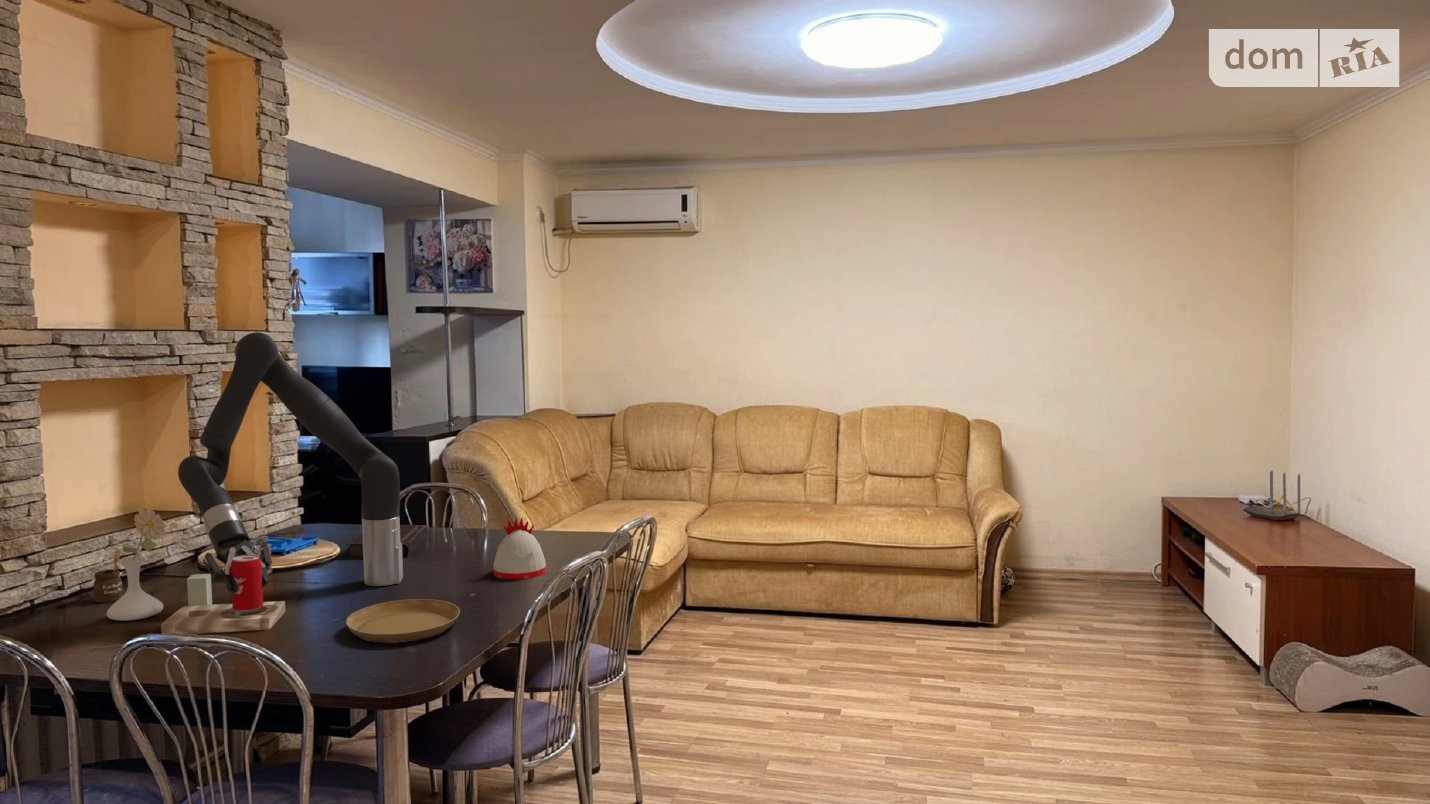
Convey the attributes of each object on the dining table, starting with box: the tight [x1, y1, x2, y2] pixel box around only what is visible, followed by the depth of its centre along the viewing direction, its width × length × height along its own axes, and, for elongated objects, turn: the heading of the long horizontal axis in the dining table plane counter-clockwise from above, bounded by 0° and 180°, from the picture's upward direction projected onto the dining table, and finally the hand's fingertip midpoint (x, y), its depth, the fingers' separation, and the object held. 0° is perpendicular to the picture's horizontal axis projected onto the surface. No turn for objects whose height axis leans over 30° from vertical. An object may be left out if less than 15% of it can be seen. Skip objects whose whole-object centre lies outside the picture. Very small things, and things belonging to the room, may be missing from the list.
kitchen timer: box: [493, 517, 547, 580], centre depth 260 cm, size 14×14×15 cm
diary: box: [345, 524, 428, 560], centre depth 289 cm, size 19×25×5 cm
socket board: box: [160, 600, 286, 635], centre depth 217 cm, size 22×13×3 cm, turn 100°
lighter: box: [250, 535, 273, 575], centre depth 259 cm, size 8×3×10 cm, turn 168°
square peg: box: [186, 573, 213, 606], centre depth 225 cm, size 4×4×9 cm
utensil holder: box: [92, 548, 123, 604], centre depth 237 cm, size 6×6×12 cm
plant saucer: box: [345, 598, 461, 644], centre depth 214 cm, size 24×24×3 cm
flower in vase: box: [105, 508, 166, 622], centre depth 223 cm, size 13×11×25 cm
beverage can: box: [230, 555, 264, 613], centre depth 217 cm, size 6×6×12 cm
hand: (250, 587), depth 216 cm, fingers closed on beverage can, 6 cm apart
